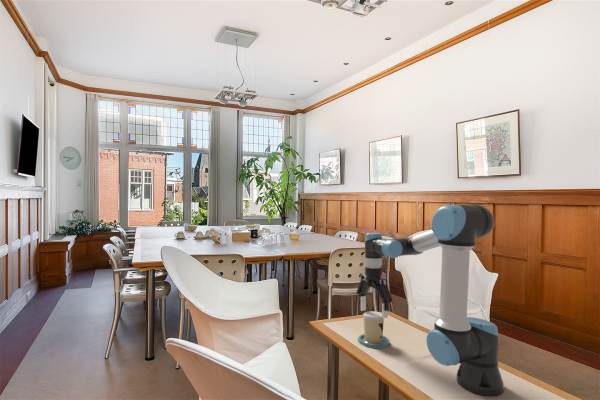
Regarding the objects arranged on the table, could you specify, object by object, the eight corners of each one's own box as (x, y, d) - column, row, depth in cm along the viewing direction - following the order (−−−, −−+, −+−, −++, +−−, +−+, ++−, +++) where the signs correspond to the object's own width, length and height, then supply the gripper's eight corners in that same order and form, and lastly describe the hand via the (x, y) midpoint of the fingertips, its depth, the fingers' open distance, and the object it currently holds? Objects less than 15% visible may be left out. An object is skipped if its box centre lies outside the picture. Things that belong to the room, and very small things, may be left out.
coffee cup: (384, 345, 159) (384, 318, 159) (362, 343, 161) (362, 316, 161) (383, 337, 168) (383, 311, 168) (363, 336, 170) (363, 310, 170)
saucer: (395, 344, 163) (395, 340, 163) (373, 351, 155) (373, 347, 155) (373, 334, 174) (373, 331, 174) (351, 340, 167) (351, 337, 167)
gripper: (400, 270, 156) (400, 319, 156) (360, 262, 177) (360, 306, 177) (388, 271, 152) (388, 322, 152) (349, 263, 173) (349, 308, 173)
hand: (373, 313), depth 164 cm, fingers open, 13 cm apart
